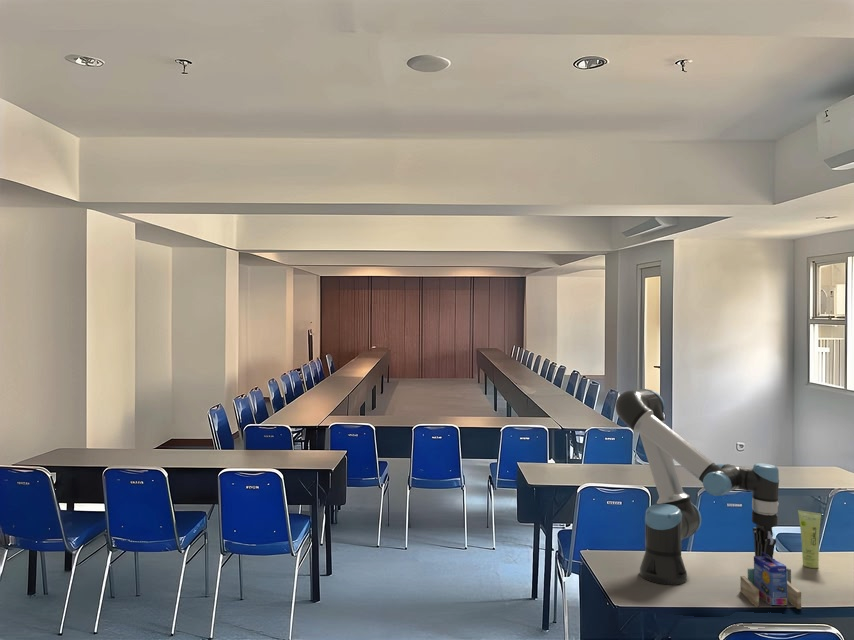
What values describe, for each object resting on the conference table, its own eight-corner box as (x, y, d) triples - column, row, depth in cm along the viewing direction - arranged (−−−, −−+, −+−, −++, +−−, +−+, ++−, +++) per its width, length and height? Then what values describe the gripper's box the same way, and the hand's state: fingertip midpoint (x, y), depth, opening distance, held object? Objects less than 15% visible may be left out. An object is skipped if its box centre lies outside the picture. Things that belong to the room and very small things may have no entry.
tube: (805, 568, 235) (805, 513, 236) (798, 563, 240) (797, 509, 241) (821, 568, 235) (821, 513, 235) (813, 564, 240) (813, 510, 240)
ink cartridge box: (752, 594, 210) (752, 548, 211) (769, 593, 211) (769, 548, 211) (770, 606, 201) (770, 558, 201) (788, 606, 201) (788, 558, 201)
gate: (789, 592, 212) (789, 568, 213) (791, 593, 211) (791, 570, 211) (747, 590, 214) (747, 566, 214) (749, 591, 212) (749, 568, 212)
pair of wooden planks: (754, 606, 200) (754, 589, 201) (740, 591, 212) (740, 575, 213) (801, 608, 199) (801, 592, 199) (784, 593, 211) (784, 577, 211)
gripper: (785, 518, 209) (782, 592, 209) (768, 507, 222) (766, 577, 222) (760, 517, 210) (758, 590, 210) (745, 505, 222) (743, 575, 222)
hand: (762, 583), depth 216 cm, fingers closed
